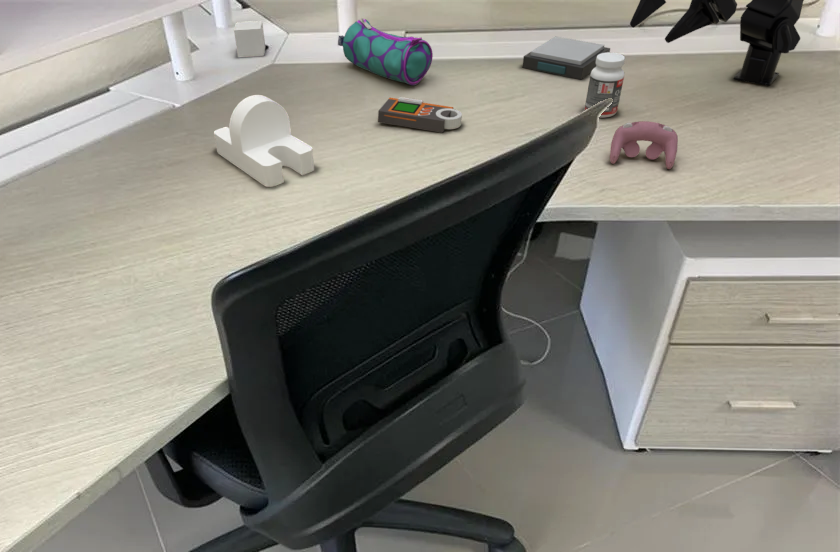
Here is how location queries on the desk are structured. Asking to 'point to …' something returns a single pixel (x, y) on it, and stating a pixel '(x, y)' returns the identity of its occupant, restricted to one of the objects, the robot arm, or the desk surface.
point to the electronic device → (419, 115)
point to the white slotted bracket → (263, 141)
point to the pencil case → (386, 53)
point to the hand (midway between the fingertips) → (648, 33)
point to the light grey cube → (249, 38)
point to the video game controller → (645, 131)
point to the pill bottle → (606, 82)
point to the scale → (565, 57)
